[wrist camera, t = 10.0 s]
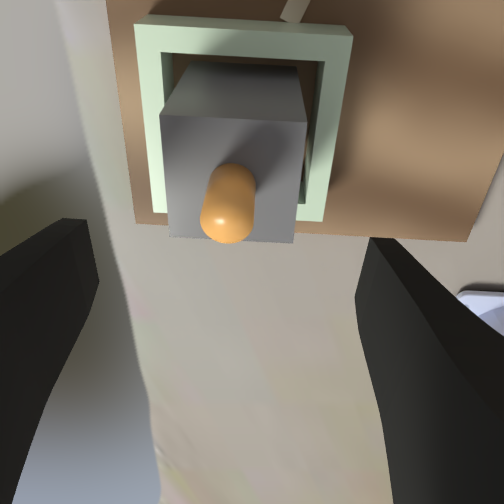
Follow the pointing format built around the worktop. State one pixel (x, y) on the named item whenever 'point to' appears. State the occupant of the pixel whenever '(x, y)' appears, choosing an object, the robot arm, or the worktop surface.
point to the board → (367, 108)
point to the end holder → (247, 45)
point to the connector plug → (234, 152)
